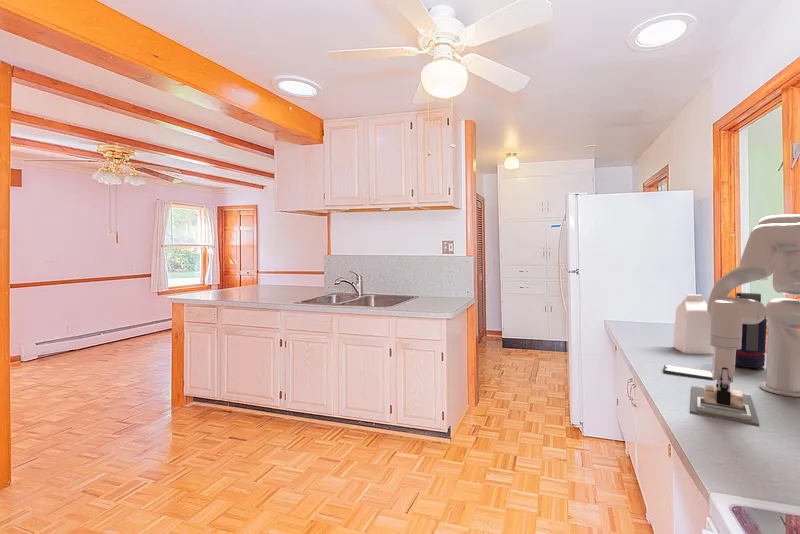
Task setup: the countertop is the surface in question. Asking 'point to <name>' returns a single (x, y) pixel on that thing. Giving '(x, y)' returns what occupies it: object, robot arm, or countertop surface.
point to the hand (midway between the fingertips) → (722, 400)
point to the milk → (693, 326)
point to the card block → (711, 396)
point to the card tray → (723, 412)
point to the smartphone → (688, 372)
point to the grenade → (752, 340)
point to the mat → (723, 407)
